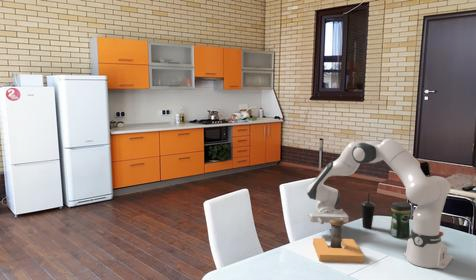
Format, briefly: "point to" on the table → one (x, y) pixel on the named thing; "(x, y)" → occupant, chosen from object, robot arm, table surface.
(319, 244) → the orange notched slab
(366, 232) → the table surface
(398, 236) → the coffee jar
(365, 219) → the drinking cup
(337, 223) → the cord spool
